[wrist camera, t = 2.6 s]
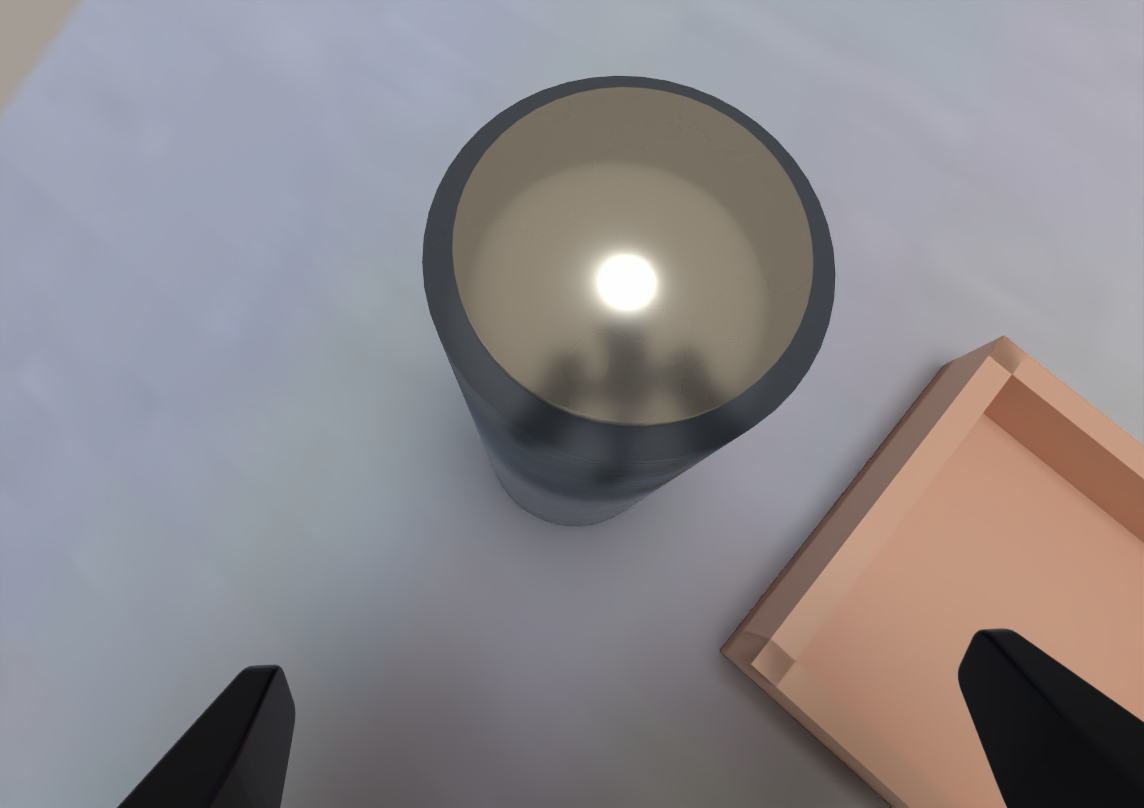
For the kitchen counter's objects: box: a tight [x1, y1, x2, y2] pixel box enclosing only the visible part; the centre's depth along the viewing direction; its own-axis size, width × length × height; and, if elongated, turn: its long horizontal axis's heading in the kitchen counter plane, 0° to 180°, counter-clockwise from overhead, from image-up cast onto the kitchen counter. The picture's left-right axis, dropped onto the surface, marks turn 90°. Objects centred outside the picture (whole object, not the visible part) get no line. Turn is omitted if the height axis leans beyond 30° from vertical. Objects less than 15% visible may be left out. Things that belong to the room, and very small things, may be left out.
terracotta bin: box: [720, 336, 1144, 808], centre depth 19 cm, size 12×12×3 cm
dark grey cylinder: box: [422, 76, 835, 526], centre depth 15 cm, size 5×5×13 cm
